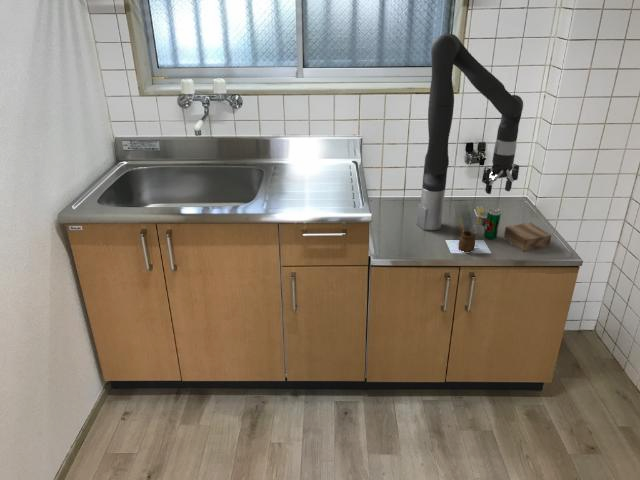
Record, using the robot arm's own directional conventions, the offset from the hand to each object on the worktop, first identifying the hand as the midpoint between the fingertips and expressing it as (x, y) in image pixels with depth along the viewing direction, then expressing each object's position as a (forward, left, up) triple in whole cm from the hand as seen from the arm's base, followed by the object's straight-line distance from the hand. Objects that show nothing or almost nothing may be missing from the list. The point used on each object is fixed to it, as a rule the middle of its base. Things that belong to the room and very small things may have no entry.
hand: (497, 192), depth 195 cm
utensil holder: (-15, -6, -20) cm, 26 cm away
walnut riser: (+11, -8, -20) cm, 24 cm away
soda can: (0, 0, -20) cm, 20 cm away
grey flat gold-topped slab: (+4, +14, -20) cm, 25 cm away
